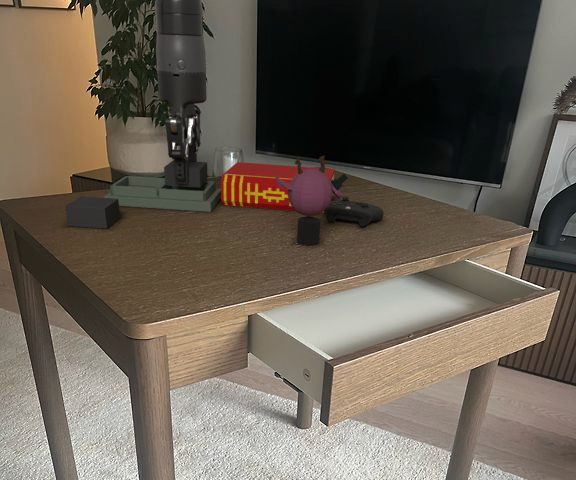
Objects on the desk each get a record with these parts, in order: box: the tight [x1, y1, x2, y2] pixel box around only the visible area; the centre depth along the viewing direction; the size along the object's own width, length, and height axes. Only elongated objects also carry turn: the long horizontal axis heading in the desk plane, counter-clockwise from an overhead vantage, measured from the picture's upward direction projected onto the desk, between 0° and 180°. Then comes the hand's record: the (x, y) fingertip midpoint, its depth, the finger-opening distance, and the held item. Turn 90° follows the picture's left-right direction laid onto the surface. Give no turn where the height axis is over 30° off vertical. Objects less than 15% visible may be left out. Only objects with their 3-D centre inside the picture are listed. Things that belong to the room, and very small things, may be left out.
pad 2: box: [163, 160, 209, 188], centre depth 102 cm, size 6×6×3 cm
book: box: [220, 161, 336, 214], centre depth 106 cm, size 18×13×5 cm
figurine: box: [275, 155, 349, 246], centre depth 84 cm, size 8×8×12 cm
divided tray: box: [103, 175, 221, 213], centre depth 104 cm, size 18×10×3 cm, turn 85°
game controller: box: [325, 196, 385, 228], centre depth 98 cm, size 10×5×6 cm
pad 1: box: [64, 196, 121, 230], centre depth 91 cm, size 6×6×3 cm
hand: (186, 179), depth 102 cm, fingers closed on pad 2, 6 cm apart
